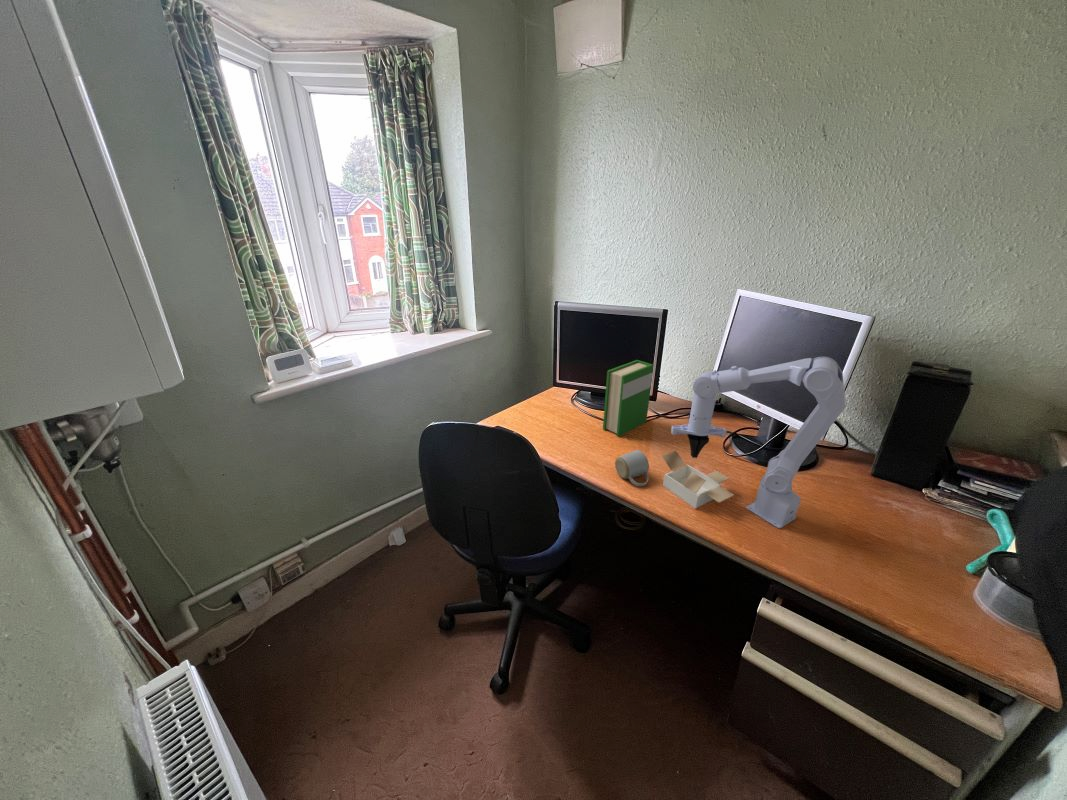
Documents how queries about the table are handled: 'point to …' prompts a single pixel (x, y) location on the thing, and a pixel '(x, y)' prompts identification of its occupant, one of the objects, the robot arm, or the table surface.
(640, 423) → the hardback book
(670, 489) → the carton
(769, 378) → the robot arm
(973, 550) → the table surface
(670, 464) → the far flap
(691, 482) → the left flap
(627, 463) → the ceramic mug
